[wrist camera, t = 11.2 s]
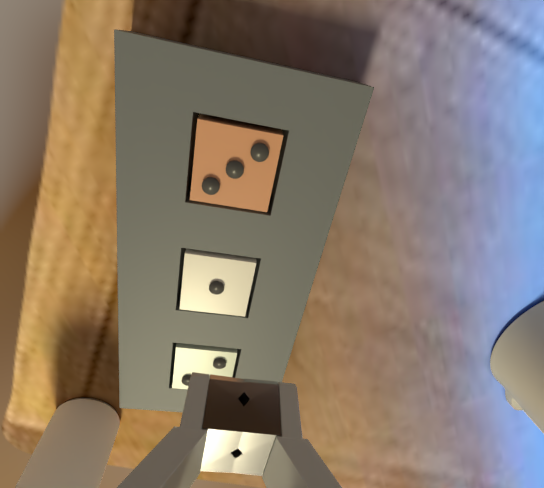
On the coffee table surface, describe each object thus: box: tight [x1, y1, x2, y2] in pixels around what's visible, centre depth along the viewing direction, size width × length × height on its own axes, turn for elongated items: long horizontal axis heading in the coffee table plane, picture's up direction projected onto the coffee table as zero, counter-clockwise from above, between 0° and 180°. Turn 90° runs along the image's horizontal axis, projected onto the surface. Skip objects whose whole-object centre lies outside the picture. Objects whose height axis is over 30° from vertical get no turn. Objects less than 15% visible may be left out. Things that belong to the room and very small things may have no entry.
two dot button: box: [172, 343, 237, 389], centre depth 31 cm, size 5×5×3 cm
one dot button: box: [180, 248, 256, 317], centre depth 27 cm, size 5×5×3 cm
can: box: [15, 398, 120, 488], centre depth 32 cm, size 6×6×12 cm
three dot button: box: [190, 114, 283, 212], centre depth 23 cm, size 5×5×3 cm
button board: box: [114, 30, 374, 412], centre depth 27 cm, size 14×30×3 cm, turn 169°
